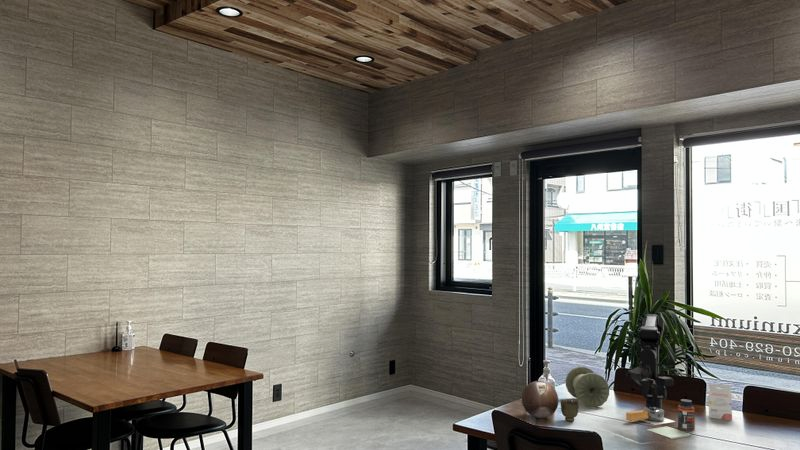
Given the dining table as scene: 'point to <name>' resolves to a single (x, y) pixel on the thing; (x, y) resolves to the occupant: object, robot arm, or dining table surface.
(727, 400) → the ink cartridge box
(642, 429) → the dining table surface
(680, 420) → the supplement bottle
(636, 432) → the dining table surface
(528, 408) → the wooden sphere
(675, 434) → the green pad
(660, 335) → the robot arm
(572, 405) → the cup
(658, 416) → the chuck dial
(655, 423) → the dial plate
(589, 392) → the spool
